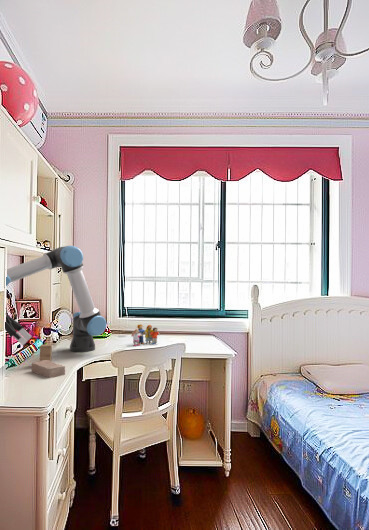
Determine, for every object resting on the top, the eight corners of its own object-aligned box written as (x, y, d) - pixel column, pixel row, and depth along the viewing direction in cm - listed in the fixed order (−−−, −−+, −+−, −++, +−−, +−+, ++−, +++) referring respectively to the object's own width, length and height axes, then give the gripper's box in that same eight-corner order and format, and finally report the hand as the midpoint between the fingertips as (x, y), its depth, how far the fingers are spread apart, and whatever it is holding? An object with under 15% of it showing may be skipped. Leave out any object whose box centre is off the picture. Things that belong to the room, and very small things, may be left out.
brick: (66, 375, 172) (66, 364, 172) (49, 378, 165) (49, 367, 165) (47, 369, 182) (47, 359, 182) (30, 372, 176) (30, 362, 176)
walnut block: (40, 364, 189) (41, 344, 190) (51, 364, 191) (51, 344, 191) (39, 366, 185) (40, 346, 185) (50, 366, 186) (50, 346, 186)
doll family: (131, 346, 240) (132, 326, 240) (125, 344, 248) (126, 324, 248) (160, 343, 251) (161, 324, 252) (154, 341, 259) (154, 322, 260)
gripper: (-5, 313, 194) (26, 342, 197) (-18, 319, 170) (16, 351, 173) (7, 303, 195) (37, 331, 198) (-5, 307, 171) (29, 339, 174)
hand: (27, 340), depth 186 cm, fingers open, 13 cm apart
